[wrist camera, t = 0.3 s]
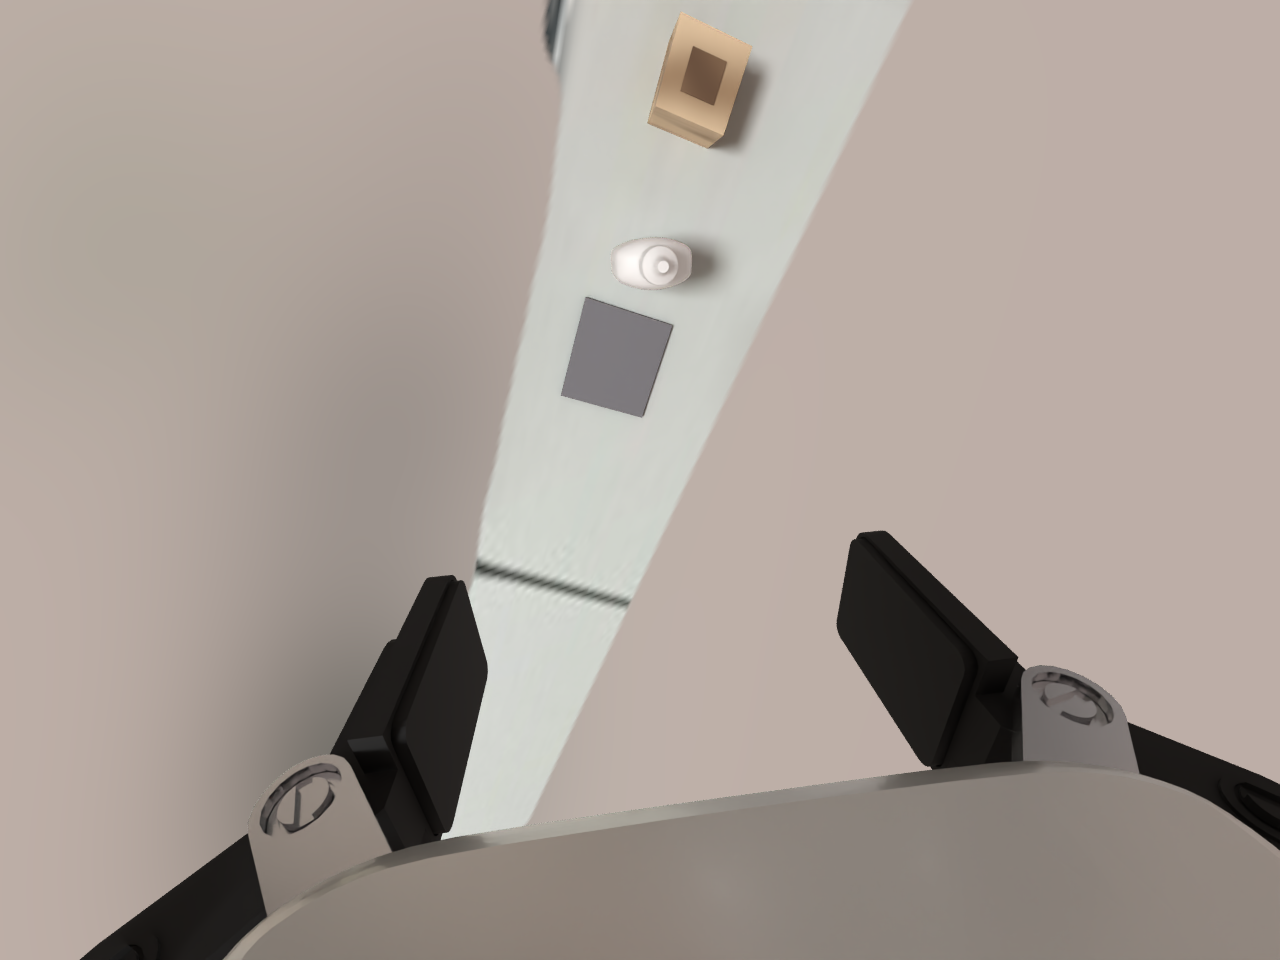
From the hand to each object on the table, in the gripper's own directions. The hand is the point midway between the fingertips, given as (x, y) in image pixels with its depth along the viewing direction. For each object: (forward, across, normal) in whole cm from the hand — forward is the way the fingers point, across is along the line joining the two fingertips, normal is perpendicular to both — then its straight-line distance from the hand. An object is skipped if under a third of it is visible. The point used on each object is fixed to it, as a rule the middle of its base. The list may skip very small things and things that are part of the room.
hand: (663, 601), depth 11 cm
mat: (+35, 0, +2) cm, 35 cm away
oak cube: (+35, -8, -17) cm, 40 cm away
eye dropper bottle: (+35, -4, -6) cm, 36 cm away
